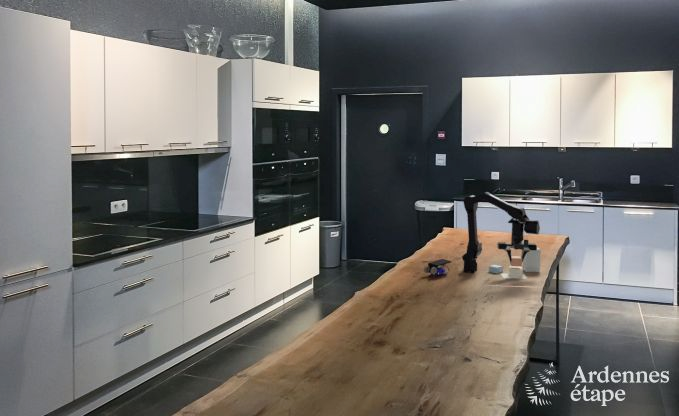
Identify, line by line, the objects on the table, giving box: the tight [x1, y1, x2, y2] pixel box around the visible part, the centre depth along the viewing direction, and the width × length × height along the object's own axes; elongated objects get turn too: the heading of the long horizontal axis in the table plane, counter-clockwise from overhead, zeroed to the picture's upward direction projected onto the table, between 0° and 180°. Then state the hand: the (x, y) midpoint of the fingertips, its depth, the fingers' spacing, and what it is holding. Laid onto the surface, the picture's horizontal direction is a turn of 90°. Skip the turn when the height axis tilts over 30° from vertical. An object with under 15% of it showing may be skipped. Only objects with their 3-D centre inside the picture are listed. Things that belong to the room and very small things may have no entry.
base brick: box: [508, 265, 524, 277], centre depth 337 cm, size 6×6×4 cm
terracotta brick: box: [509, 255, 523, 267], centre depth 337 cm, size 5×5×4 cm
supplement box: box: [521, 247, 542, 273], centre depth 350 cm, size 7×7×13 cm
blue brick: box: [488, 264, 503, 274], centre depth 345 cm, size 5×5×4 cm
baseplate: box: [499, 272, 528, 280], centre depth 337 cm, size 12×10×1 cm
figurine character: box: [422, 258, 453, 278], centre depth 339 cm, size 7×8×15 cm
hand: (516, 263), depth 337 cm, fingers closed on terracotta brick, 5 cm apart
